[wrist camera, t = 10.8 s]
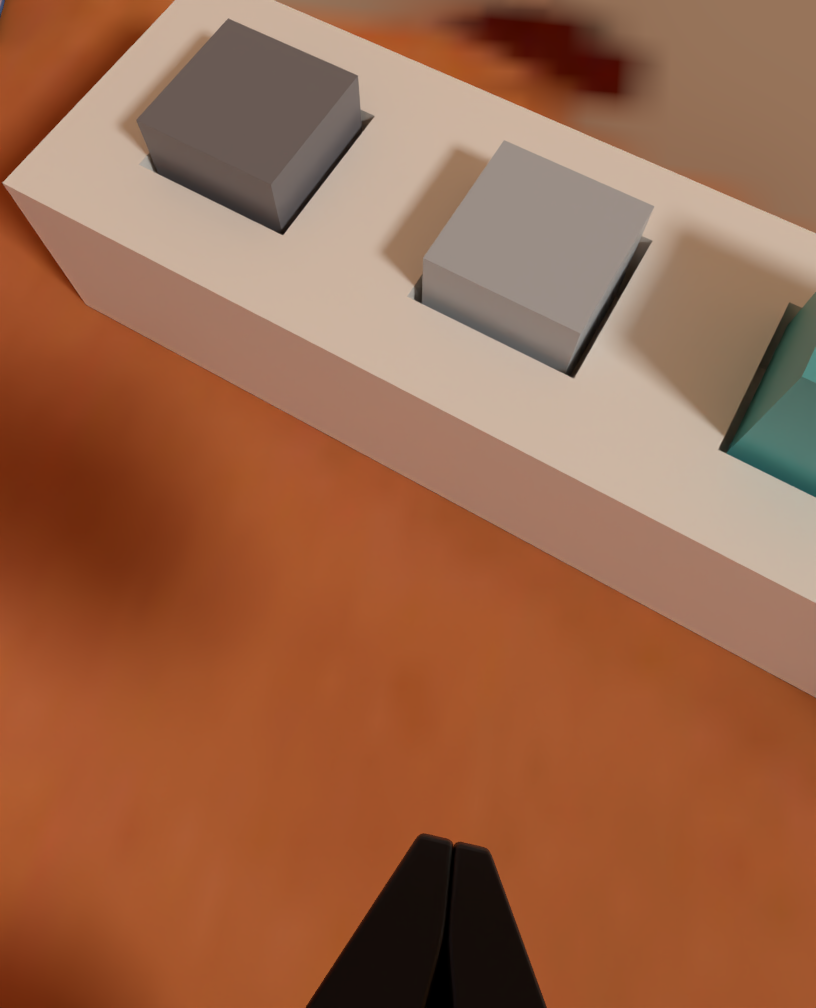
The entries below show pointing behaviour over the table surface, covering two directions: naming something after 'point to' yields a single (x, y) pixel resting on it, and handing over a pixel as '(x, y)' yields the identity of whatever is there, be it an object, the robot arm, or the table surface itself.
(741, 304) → the keypad
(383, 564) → the table surface
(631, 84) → the table surface
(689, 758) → the table surface
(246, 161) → the charcoal key
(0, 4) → the ink cartridge box
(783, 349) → the teal key
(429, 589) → the table surface
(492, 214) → the slate key
